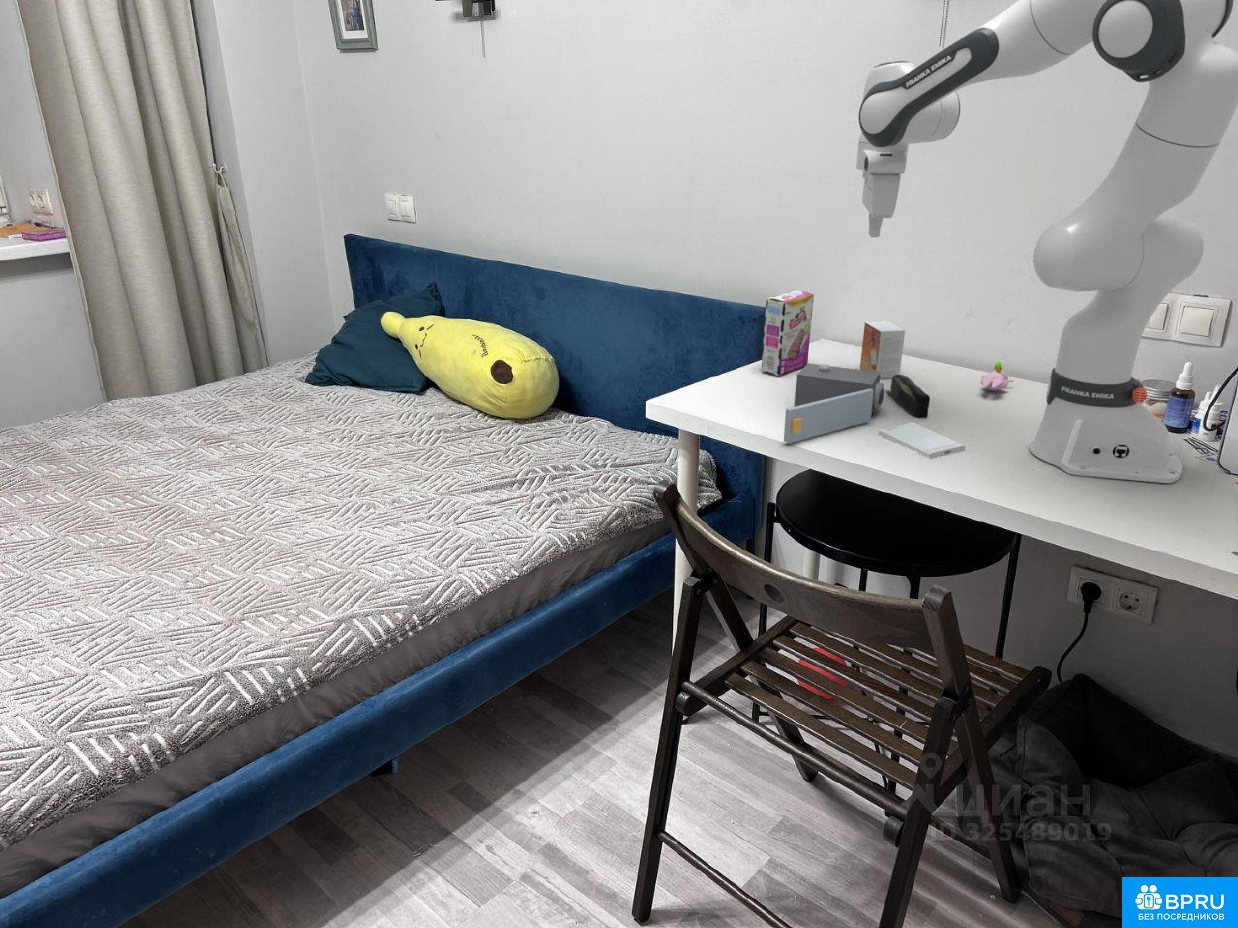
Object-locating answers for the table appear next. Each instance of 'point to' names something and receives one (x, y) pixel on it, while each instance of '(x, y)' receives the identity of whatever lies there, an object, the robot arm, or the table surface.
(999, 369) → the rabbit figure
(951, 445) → the hard drive
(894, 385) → the dark green rounded block
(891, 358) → the small box
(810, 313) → the candy bar box
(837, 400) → the side door
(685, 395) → the table surface
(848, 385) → the box
